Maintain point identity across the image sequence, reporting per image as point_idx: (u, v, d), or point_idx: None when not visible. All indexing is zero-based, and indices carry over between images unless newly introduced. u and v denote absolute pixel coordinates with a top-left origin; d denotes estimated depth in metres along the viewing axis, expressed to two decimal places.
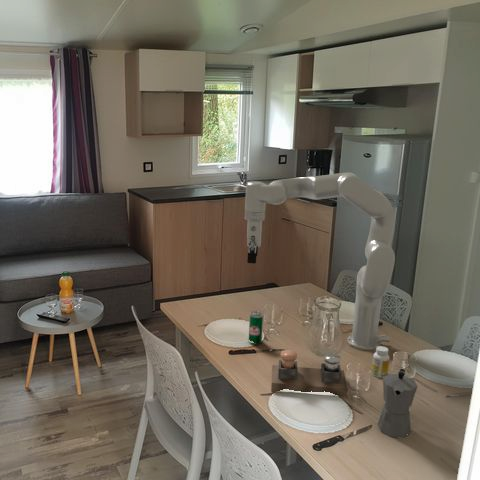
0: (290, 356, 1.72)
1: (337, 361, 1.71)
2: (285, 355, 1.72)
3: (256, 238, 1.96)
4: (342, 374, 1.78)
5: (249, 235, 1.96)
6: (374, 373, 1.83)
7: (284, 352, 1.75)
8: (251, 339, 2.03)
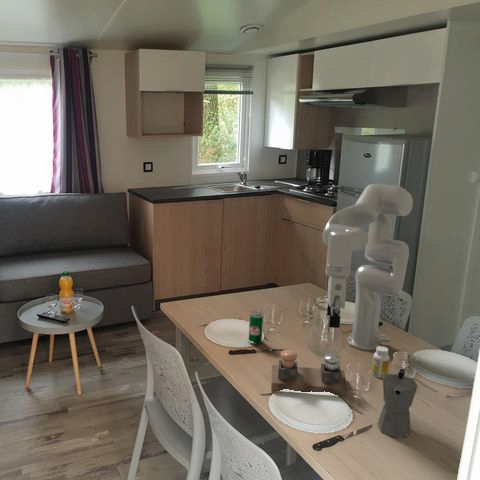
0: (290, 356, 1.72)
1: (337, 361, 1.71)
2: (285, 355, 1.72)
3: (341, 298, 1.63)
4: (342, 374, 1.78)
5: (332, 295, 1.63)
6: (374, 373, 1.83)
7: (284, 352, 1.75)
8: (251, 339, 2.03)
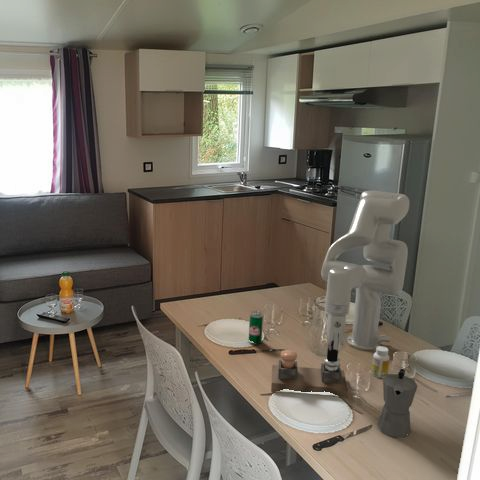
0: (290, 356, 1.72)
1: (337, 364, 1.71)
2: (285, 355, 1.72)
3: (340, 336, 1.65)
4: (342, 374, 1.78)
5: (332, 332, 1.65)
6: (374, 373, 1.83)
7: (284, 352, 1.75)
8: (251, 339, 2.03)
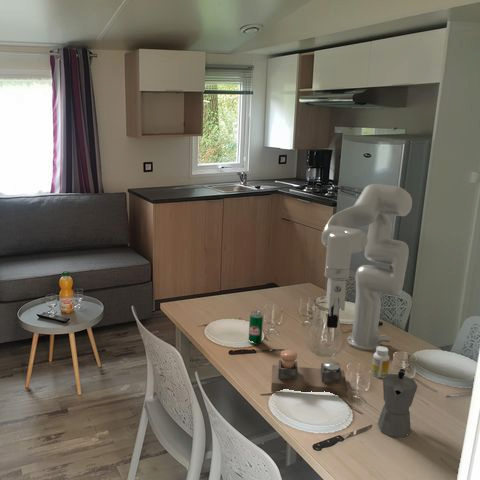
0: (290, 356, 1.72)
1: (336, 368, 1.72)
2: (285, 355, 1.72)
3: (341, 300, 1.63)
4: (342, 374, 1.78)
5: (332, 297, 1.63)
6: (374, 373, 1.83)
7: (284, 352, 1.75)
8: (251, 339, 2.03)
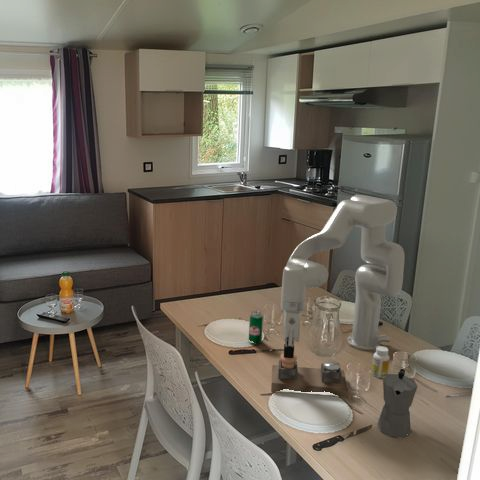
0: (290, 359, 1.72)
1: (336, 368, 1.72)
2: (284, 358, 1.73)
3: (295, 332, 1.66)
4: (342, 374, 1.78)
5: (287, 329, 1.66)
6: (374, 373, 1.83)
7: None
8: (251, 339, 2.03)
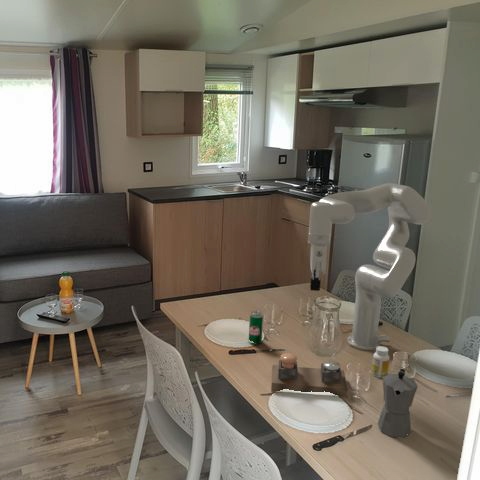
0: (290, 359, 1.72)
1: (336, 368, 1.72)
2: (284, 359, 1.73)
3: (322, 264, 1.78)
4: (342, 374, 1.78)
5: (314, 261, 1.78)
6: (374, 373, 1.83)
7: (284, 355, 1.75)
8: (251, 339, 2.03)
